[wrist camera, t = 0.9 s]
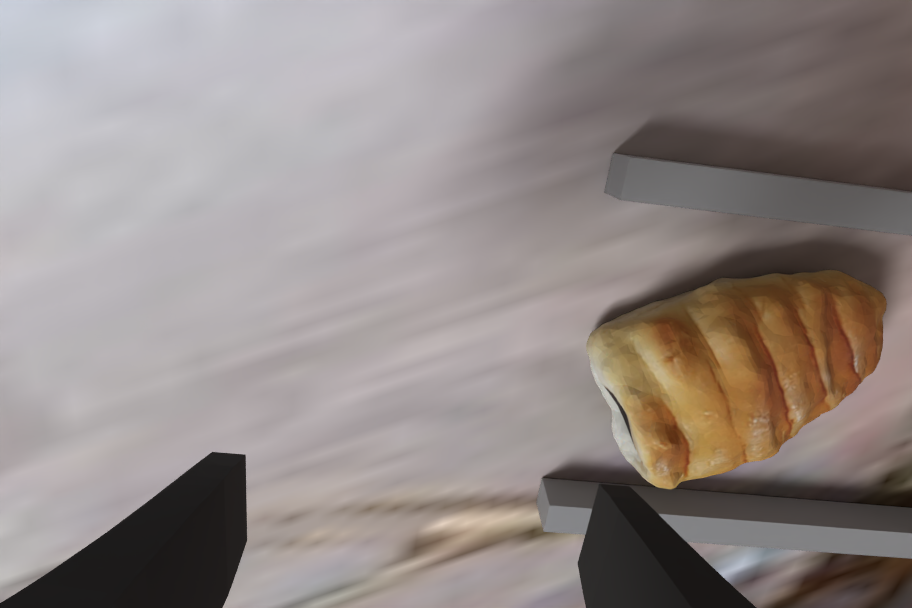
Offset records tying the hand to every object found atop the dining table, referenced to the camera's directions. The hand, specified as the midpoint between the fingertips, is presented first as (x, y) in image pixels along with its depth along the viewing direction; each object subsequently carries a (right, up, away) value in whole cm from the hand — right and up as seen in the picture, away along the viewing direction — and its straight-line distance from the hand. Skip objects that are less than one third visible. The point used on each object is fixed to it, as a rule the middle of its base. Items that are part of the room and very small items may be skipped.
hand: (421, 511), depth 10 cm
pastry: (+9, +2, +9) cm, 13 cm away
